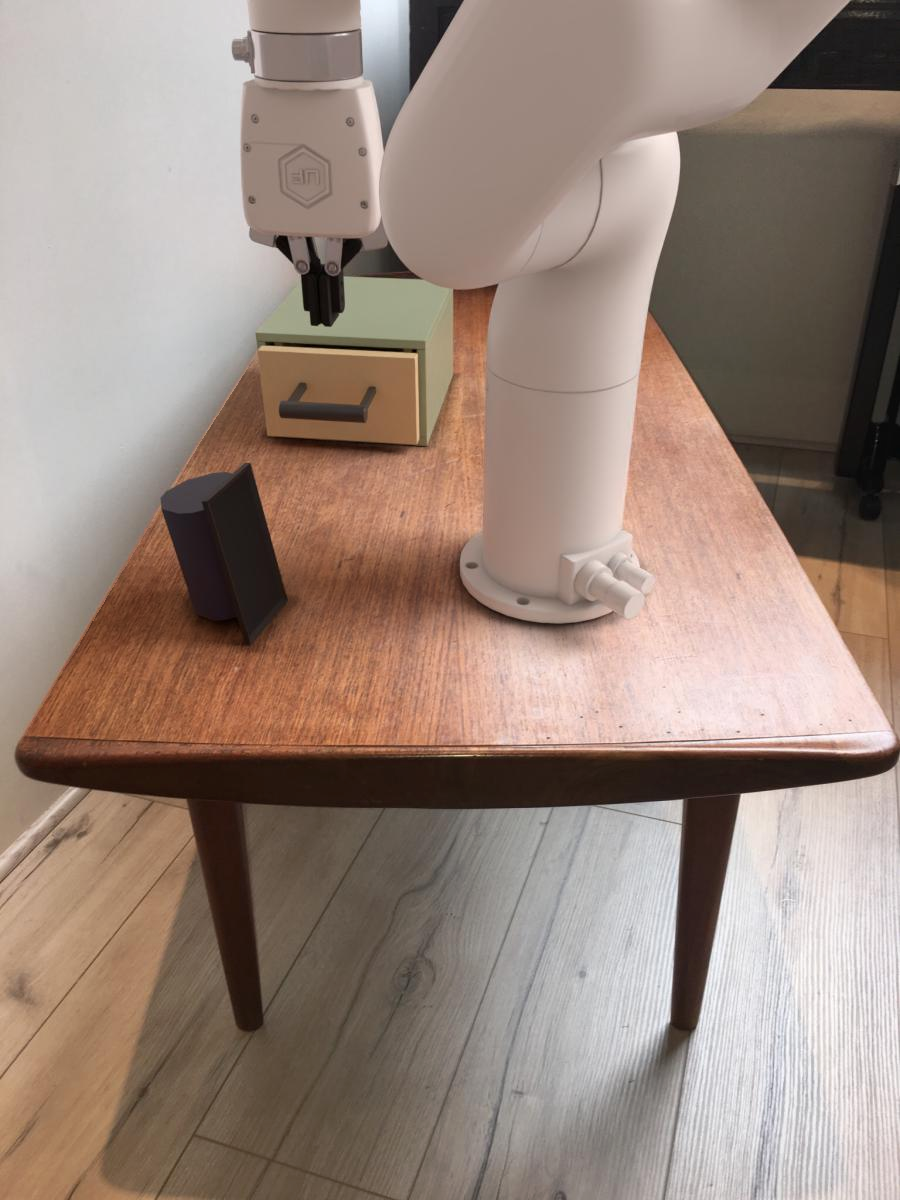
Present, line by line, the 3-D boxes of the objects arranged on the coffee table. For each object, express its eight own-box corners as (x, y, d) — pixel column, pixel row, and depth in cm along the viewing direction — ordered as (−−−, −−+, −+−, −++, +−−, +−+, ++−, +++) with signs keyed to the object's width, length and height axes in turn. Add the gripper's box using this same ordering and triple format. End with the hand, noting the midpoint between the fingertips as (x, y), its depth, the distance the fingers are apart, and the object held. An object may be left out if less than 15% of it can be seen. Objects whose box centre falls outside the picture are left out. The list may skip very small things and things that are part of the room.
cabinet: (427, 446, 87) (425, 340, 82) (267, 436, 89) (255, 332, 84) (453, 375, 101) (453, 280, 96) (313, 368, 103) (305, 274, 97)
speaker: (313, 603, 67) (282, 464, 61) (249, 647, 63) (209, 503, 58) (240, 574, 71) (205, 441, 66) (176, 613, 68) (133, 477, 62)
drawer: (405, 475, 81) (402, 384, 77) (247, 465, 83) (235, 375, 78) (443, 377, 98) (442, 298, 94) (311, 370, 100) (305, 292, 95)
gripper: (184, 64, 66) (219, 332, 77) (405, 70, 64) (409, 343, 75) (221, 50, 72) (248, 300, 83) (423, 55, 71) (425, 310, 81)
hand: (325, 320), depth 79 cm, fingers closed
